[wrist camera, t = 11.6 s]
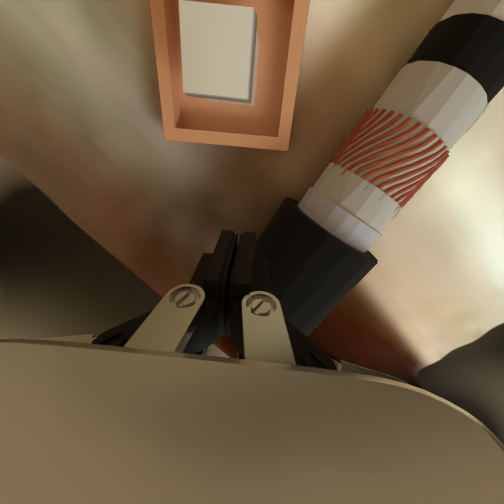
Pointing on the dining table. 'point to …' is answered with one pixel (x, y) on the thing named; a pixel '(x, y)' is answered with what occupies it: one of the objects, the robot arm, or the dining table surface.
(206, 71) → the block
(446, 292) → the dining table surface
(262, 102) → the dish
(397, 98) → the striped tapered cylinder
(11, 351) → the robot arm
